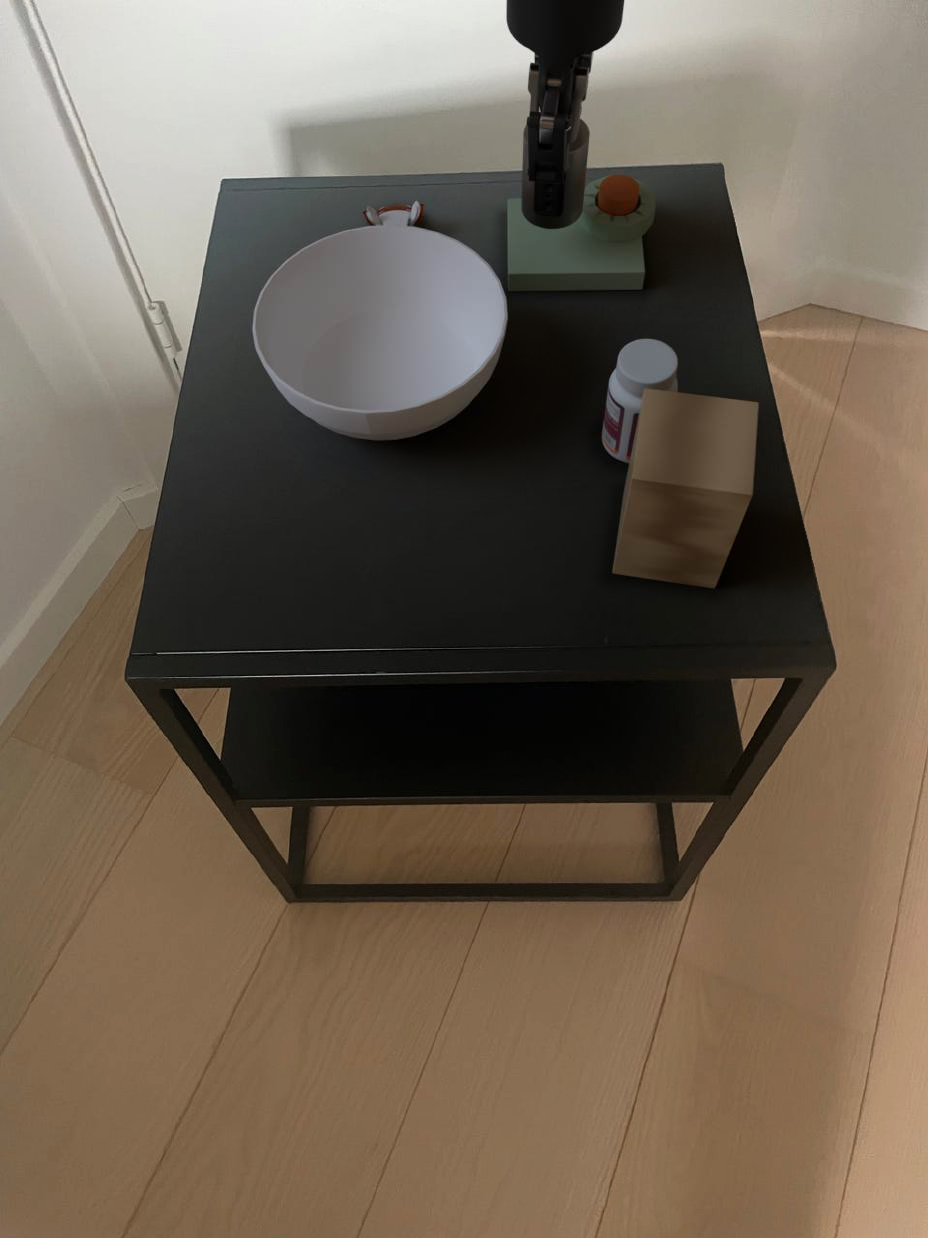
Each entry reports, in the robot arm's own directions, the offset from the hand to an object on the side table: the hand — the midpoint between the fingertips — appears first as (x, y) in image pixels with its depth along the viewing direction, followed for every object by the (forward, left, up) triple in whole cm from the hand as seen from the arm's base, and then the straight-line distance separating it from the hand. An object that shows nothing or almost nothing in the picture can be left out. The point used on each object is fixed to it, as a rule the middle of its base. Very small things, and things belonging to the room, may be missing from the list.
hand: (553, 187), depth 73 cm
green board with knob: (-2, -2, -7) cm, 8 cm away
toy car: (+13, -1, -8) cm, 15 cm away
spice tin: (0, 0, -2) cm, 2 cm away
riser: (-12, +25, -7) cm, 29 cm away
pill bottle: (-9, +17, -8) cm, 21 cm away
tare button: (-5, -4, -4) cm, 8 cm away
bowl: (+10, +15, -8) cm, 20 cm away
